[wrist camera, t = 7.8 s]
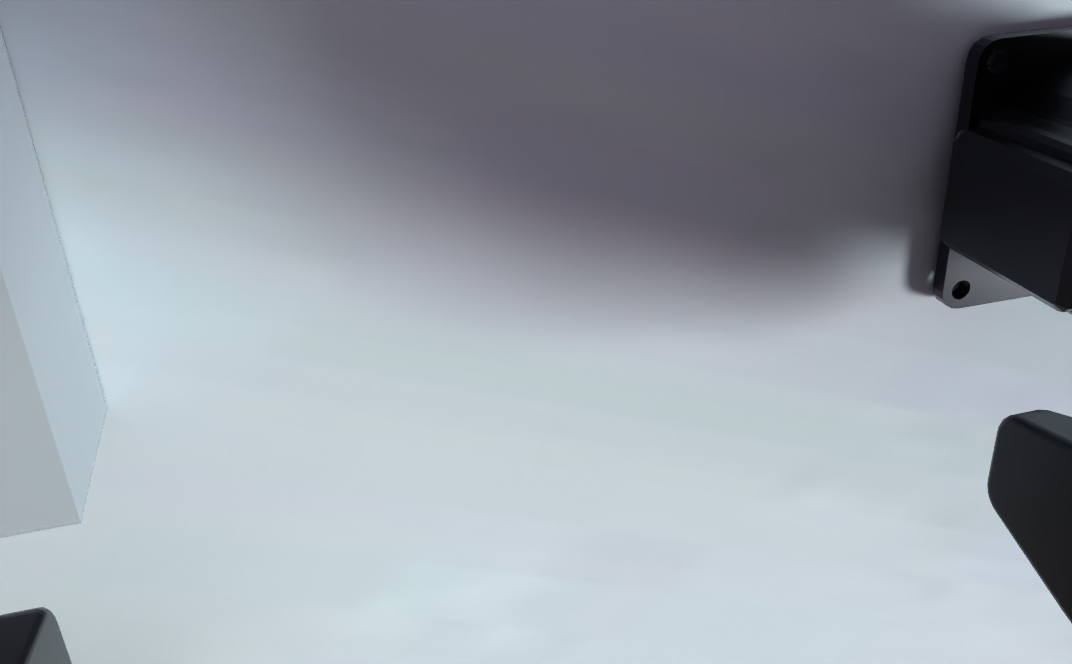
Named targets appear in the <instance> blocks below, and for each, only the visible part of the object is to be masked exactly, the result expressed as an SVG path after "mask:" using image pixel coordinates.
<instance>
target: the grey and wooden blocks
mask: <svg viewBox="0 0 1072 664" xmlns="http://www.w3.org/2000/svg"><path fill="white" fill-rule="evenodd" d="M106 412H107V405H106V402H105V398H104V395H103V391H102V387H101V384H100V380H99V377H98V373H97V370H96V366H95V363H94V359H93V355H92V352H91V348H90V345H89V341H88V338H87V334H86V331H85V327H84V323H83V320H82V316H81V313H80V309H79V306H78V302H77V298H76V295H75V291H74V288H73V284H72V281H71V277H70V274H69V270H68V266H67V263H66V259H65V256H64V252H63V249H62V245H61V242H60V238H59V234H58V231H57V227H56V224H55V220H54V217H53V213H52V210H51V206H50V202H49V199H48V195H47V192H46V188H45V185H44V181H43V177H42V174H41V170H40V167H39V163H38V160H37V156H36V153H35V149H34V145H33V142H32V138H31V135H30V131H29V128H28V124H27V121H26V117H25V113H24V110H23V106H22V103H21V99H20V96H19V92H18V88H17V85H16V81H15V78H14V74H13V71H12V67H11V64H10V60H9V56H8V53H7V49H6V46H5V42H4V39H3V35H2V32H1V28H0V538H2V537H8V536H13V535H18V534H24V533H29V532H35V531H40V530H45V529H51V528H56V527H62V526H67V525H73V524H78V523H81V520H82V516H83V511H84V507H85V503H86V498H87V494H88V490H89V485H90V481H91V477H92V472H93V468H94V464H95V459H96V455H97V451H98V446H99V442H100V438H101V433H102V429H103V425H104V420H105V416H106Z"/></svg>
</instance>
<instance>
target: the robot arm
mask: <svg viewBox="0 0 1072 664" xmlns="http://www.w3.org/2000/svg"><path fill="white" fill-rule="evenodd" d="M995 51H996V59H995V62H994V64H993V65H992V66H991V67H990V68H988V60H989V58H990V56H991V55H992V54H993V53H994V52H995ZM957 282H960V284H959V286H958V288H957V289H956V290H955V291H953V292H952V289H953V287H954V286H955V285H956V284H957ZM933 293H934V295H935V297H936V299H938V300H939V301H941V302H942V303H944V304H945V305H947V306H949V307H950V308H963V307H969V306H975V305H981V304H986V303H992V302H998V301H1004V300H1010V299H1015V298H1021V297H1027V296H1033V297H1035V298H1036V299H1038V300H1040V301H1042V302H1043V303H1045V304H1047V305H1048V306H1050V307H1052V308H1054V309H1055V310H1057V311H1060V312H1068V313H1070V314H1072V26H1069V27H1059V28H1050V29H1041V30H1032V31H1023V32H1013V33H1004V34H995V35H988V36H985V37H982V38H981V39H980V40H978V41H977V42H976V43H975V44H974V45H973V47H972V48H971V49H970V51H969V54H968V57H967V60H966V66H965V73H964V80H963V87H962V94H961V100H960V107H959V114H958V121H957V128H956V134H955V140H954V144H953V151H952V158H951V164H950V171H949V178H948V185H947V192H946V198H945V205H944V212H943V219H942V226H941V232H940V243H939V250H938V257H937V264H936V270H935V277H934V284H933ZM987 485H988V494H989V498H990V501H991V503H992V506H993V508H994V509H995V511H996V512H997V514H998V515H999V517H1000V518H1001V520H1002V521H1003V523H1004V524H1005V526H1006V527H1007V529H1008V530H1009V532H1010V533H1011V535H1012V536H1013V538H1014V539H1015V541H1016V542H1017V544H1018V545H1019V547H1020V548H1021V550H1022V551H1023V552H1024V554H1025V555H1026V557H1027V558H1028V560H1029V561H1030V563H1031V564H1032V566H1033V567H1034V569H1035V570H1036V572H1037V573H1038V575H1039V576H1040V578H1041V579H1042V581H1043V582H1044V584H1045V585H1046V587H1047V588H1048V590H1049V591H1050V593H1051V594H1052V596H1053V597H1054V598H1055V600H1056V601H1057V603H1058V604H1059V606H1060V607H1061V609H1062V610H1063V612H1064V613H1065V615H1066V616H1067V617H1068V619H1069V620H1070V622H1071V623H1072V417H1069V416H1066V415H1062V414H1059V413H1055V412H1052V411H1048V410H1035V411H1030V412H1025V413H1020V414H1015V415H1010V416H1008V417H1007V418H1005V419H1004V420H1003V421H1002V422H1001V424H1000V425H999V428H998V431H997V436H996V441H995V446H994V451H993V456H992V462H991V467H990V472H989V477H988V484H987ZM0 664H72V663H71V660H70V657H69V654H68V651H67V649H66V646H65V643H64V640H63V637H62V634H61V631H60V628H59V625H58V623H57V620H56V618H55V616H54V615H53V613H52V612H51V611H50V610H48V609H46V608H43V607H40V608H35V609H30V610H24V611H19V612H14V613H9V614H4V615H1V616H0Z"/></svg>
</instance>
